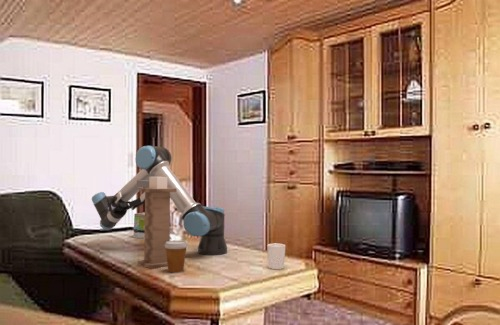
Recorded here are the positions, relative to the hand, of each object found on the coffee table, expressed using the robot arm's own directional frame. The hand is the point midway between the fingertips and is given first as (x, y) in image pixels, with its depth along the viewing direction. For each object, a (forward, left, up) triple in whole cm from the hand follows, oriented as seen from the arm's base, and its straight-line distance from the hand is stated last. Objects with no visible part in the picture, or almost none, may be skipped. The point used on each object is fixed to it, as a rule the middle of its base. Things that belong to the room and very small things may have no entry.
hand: (133, 193), depth 220 cm
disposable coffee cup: (-27, +26, -30) cm, 48 cm away
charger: (-12, +12, +4) cm, 17 cm away
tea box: (+11, -59, -31) cm, 67 cm away
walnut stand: (-16, +16, -30) cm, 38 cm away
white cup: (-69, +15, -30) cm, 77 cm away
